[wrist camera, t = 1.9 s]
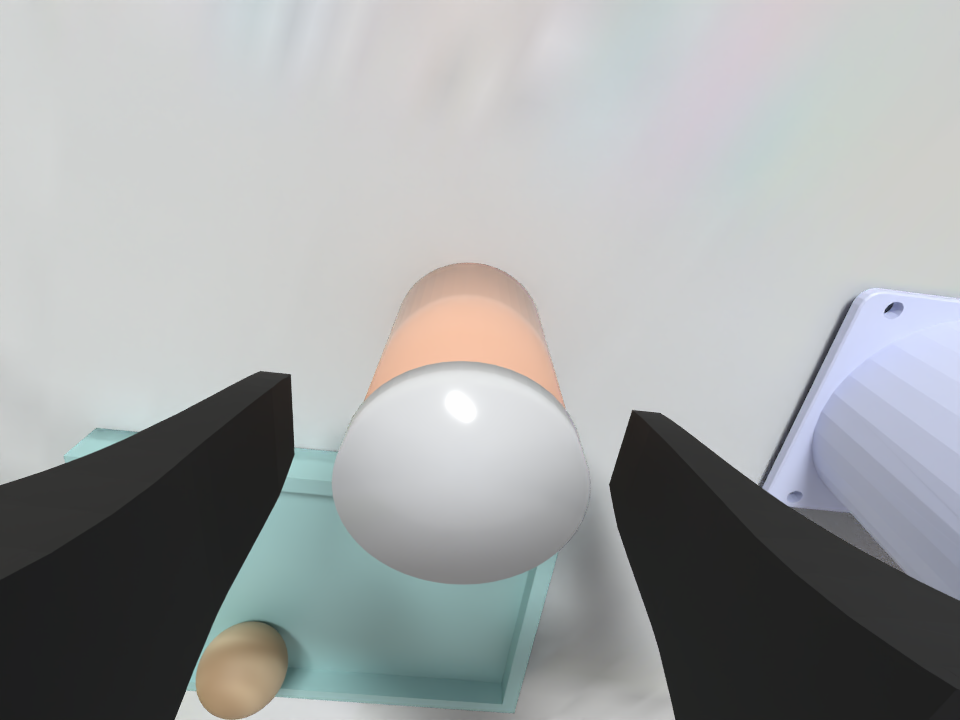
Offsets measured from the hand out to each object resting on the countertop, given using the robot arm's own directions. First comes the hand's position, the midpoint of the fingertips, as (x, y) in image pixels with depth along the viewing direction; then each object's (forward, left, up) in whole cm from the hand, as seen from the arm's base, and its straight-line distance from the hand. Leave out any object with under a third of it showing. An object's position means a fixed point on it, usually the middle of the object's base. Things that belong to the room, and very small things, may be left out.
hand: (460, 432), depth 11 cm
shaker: (0, 0, -5) cm, 5 cm away
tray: (+4, +11, -5) cm, 13 cm away
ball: (+7, +14, -5) cm, 16 cm away
